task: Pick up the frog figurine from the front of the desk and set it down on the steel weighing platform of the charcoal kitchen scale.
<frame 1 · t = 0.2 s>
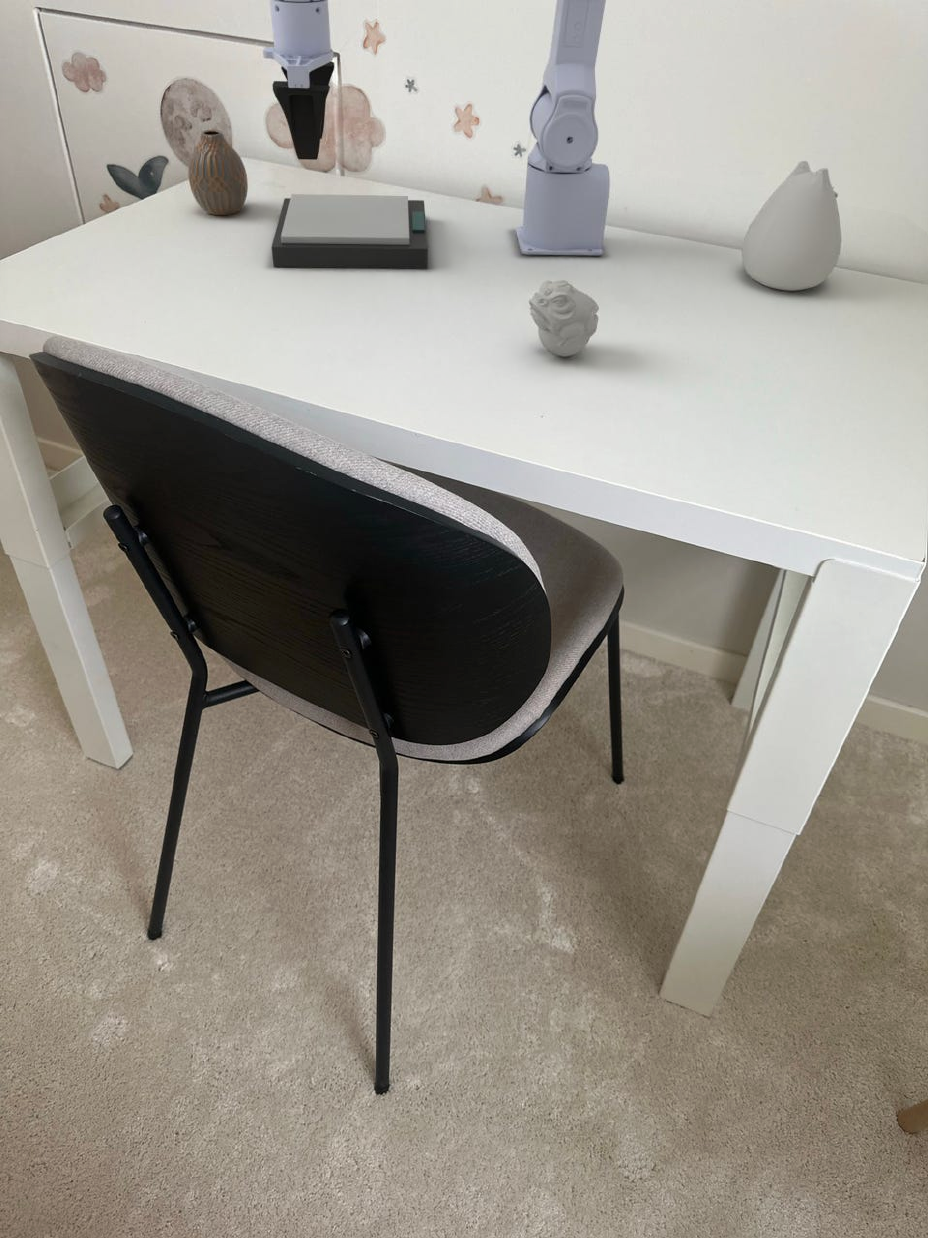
hand: (310, 147, 97), 10 cm above the table, tool pointing down, fingers open, 7 cm apart
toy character: (782, 281, 101), on the table
vase: (223, 211, 111), on the table
scale: (353, 241, 105), on the table
frog figurine: (559, 355, 85), on the table
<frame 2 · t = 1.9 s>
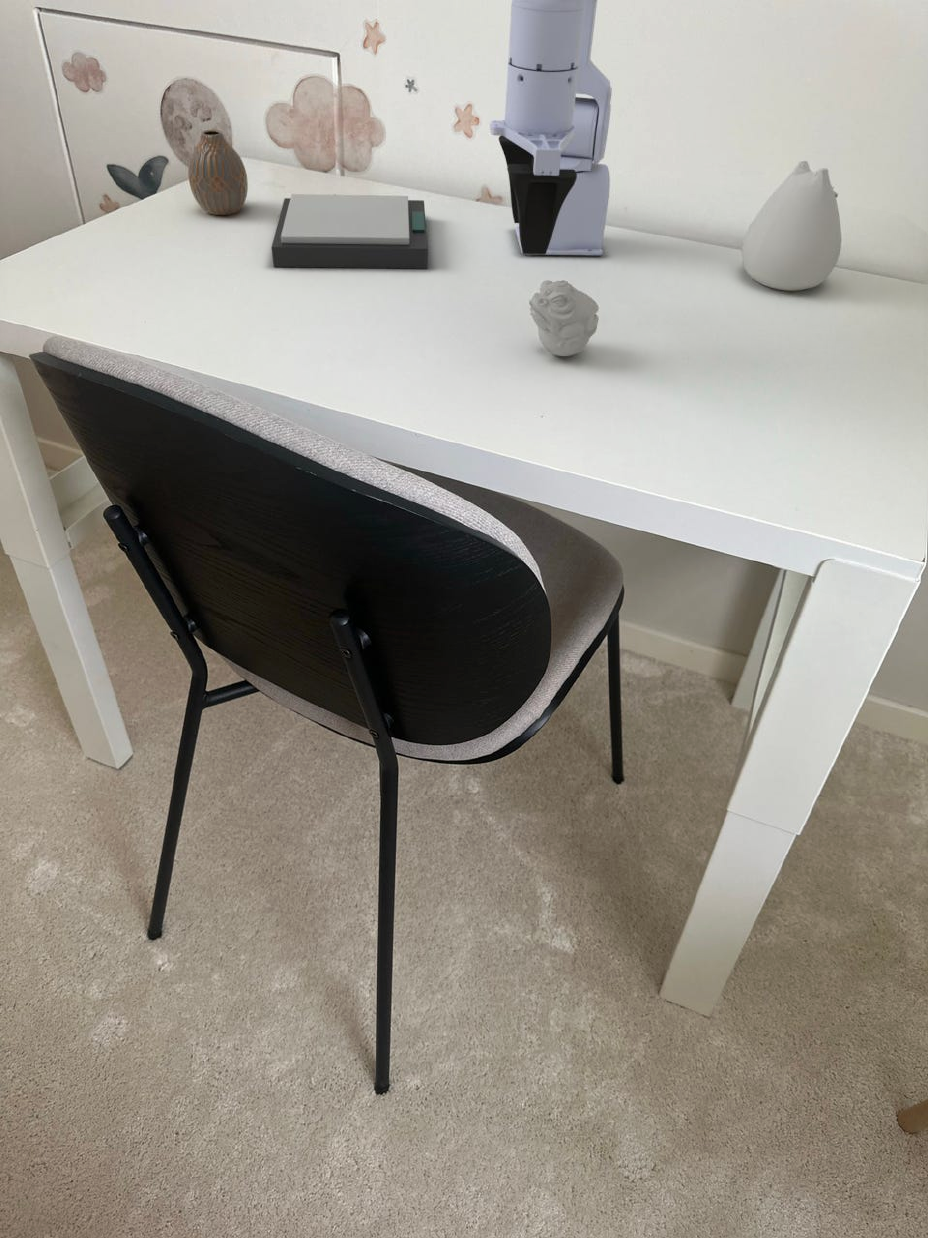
hand: (529, 236, 81), 10 cm above the table, tool pointing down, fingers open, 7 cm apart
nothing on the table moved.
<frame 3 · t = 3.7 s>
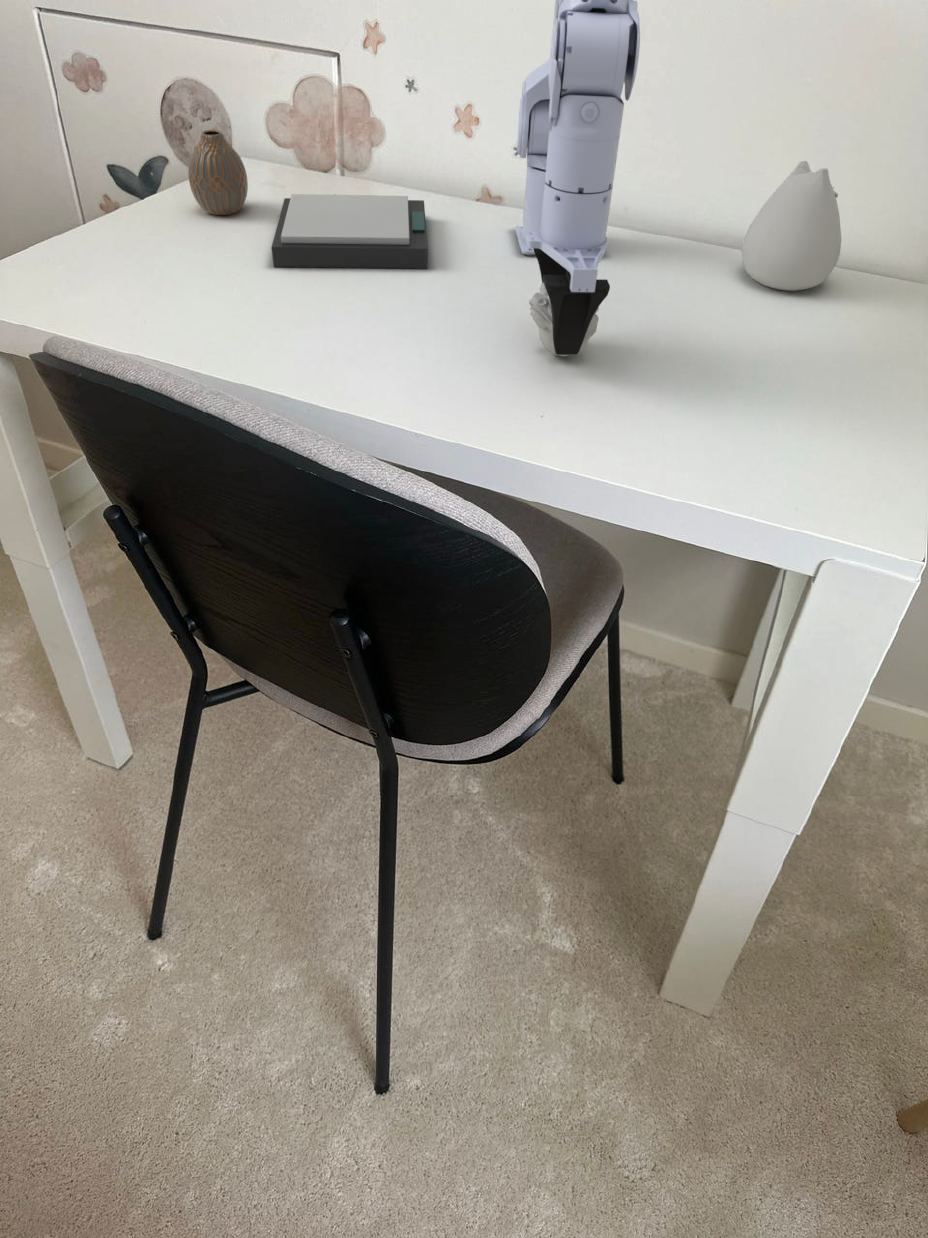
hand: (561, 336, 84), 2 cm above the table, tool pointing down, fingers closed on frog figurine, 6 cm apart
frog figurine: (559, 355, 85), on the table, touching gripper
everything else where it was.
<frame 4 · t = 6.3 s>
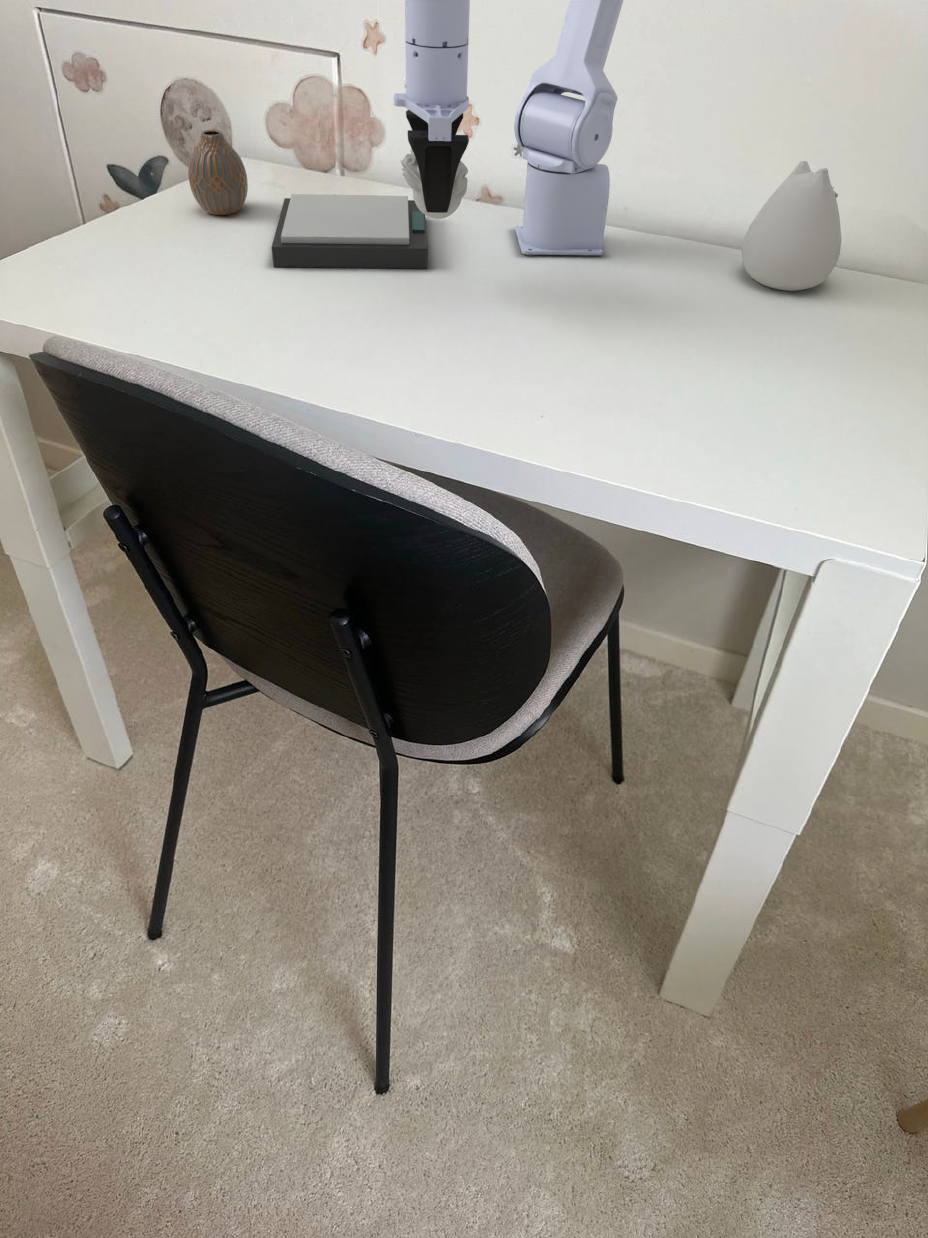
hand: (435, 199, 90), 9 cm above the table, tool pointing down, fingers closed on frog figurine, 6 cm apart
frog figurine: (434, 219, 91), point 7 cm above the table, touching gripper
everything else where it was.
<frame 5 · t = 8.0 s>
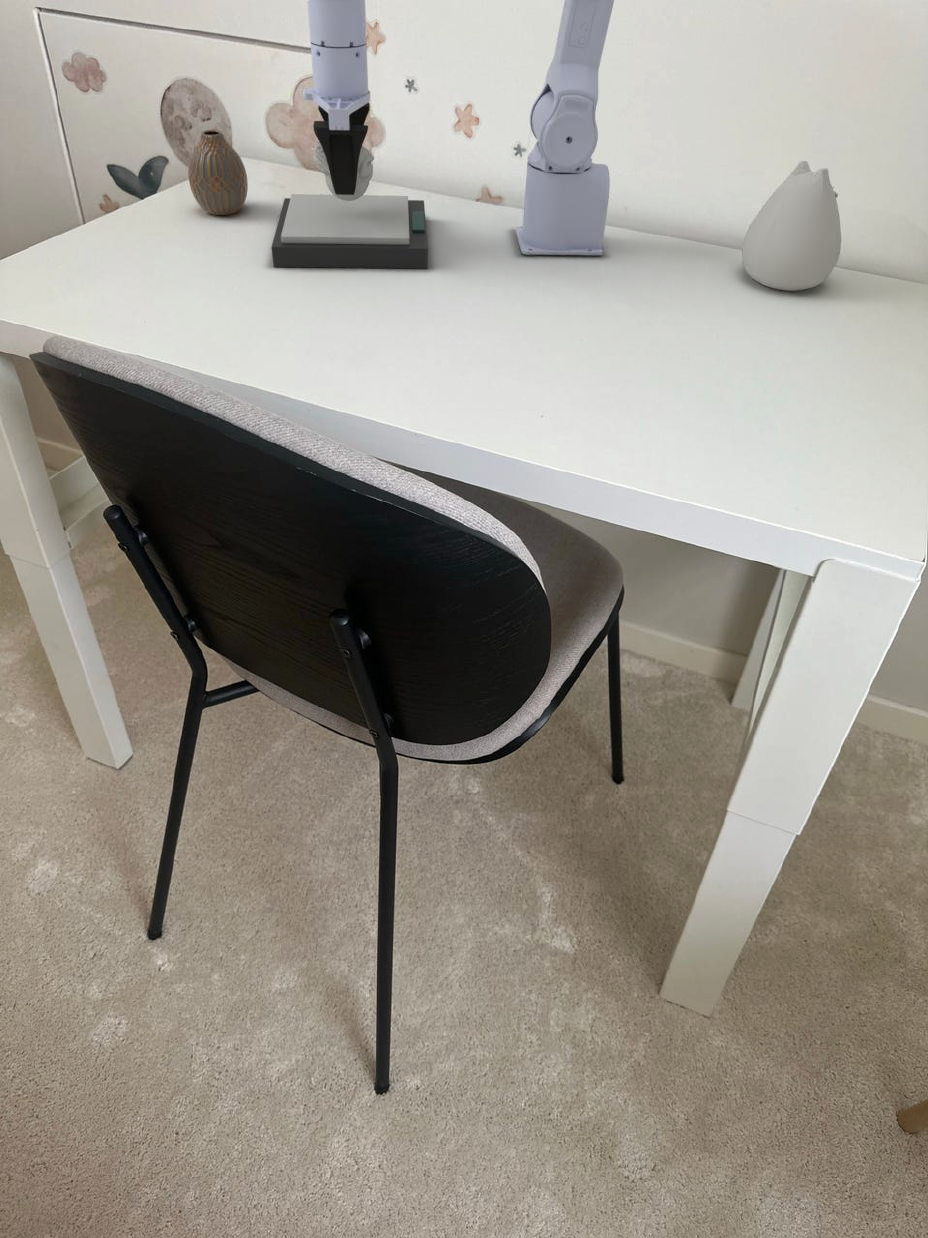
hand: (346, 183, 100), 6 cm above the table, tool pointing down, fingers closed on frog figurine, 6 cm apart
frog figurine: (346, 201, 101), point 4 cm above the table, touching gripper
everything else where it was.
when the fingers open (5 cm above the table, at t = 9.2 s): frog figurine stays where it is, resting on scale.
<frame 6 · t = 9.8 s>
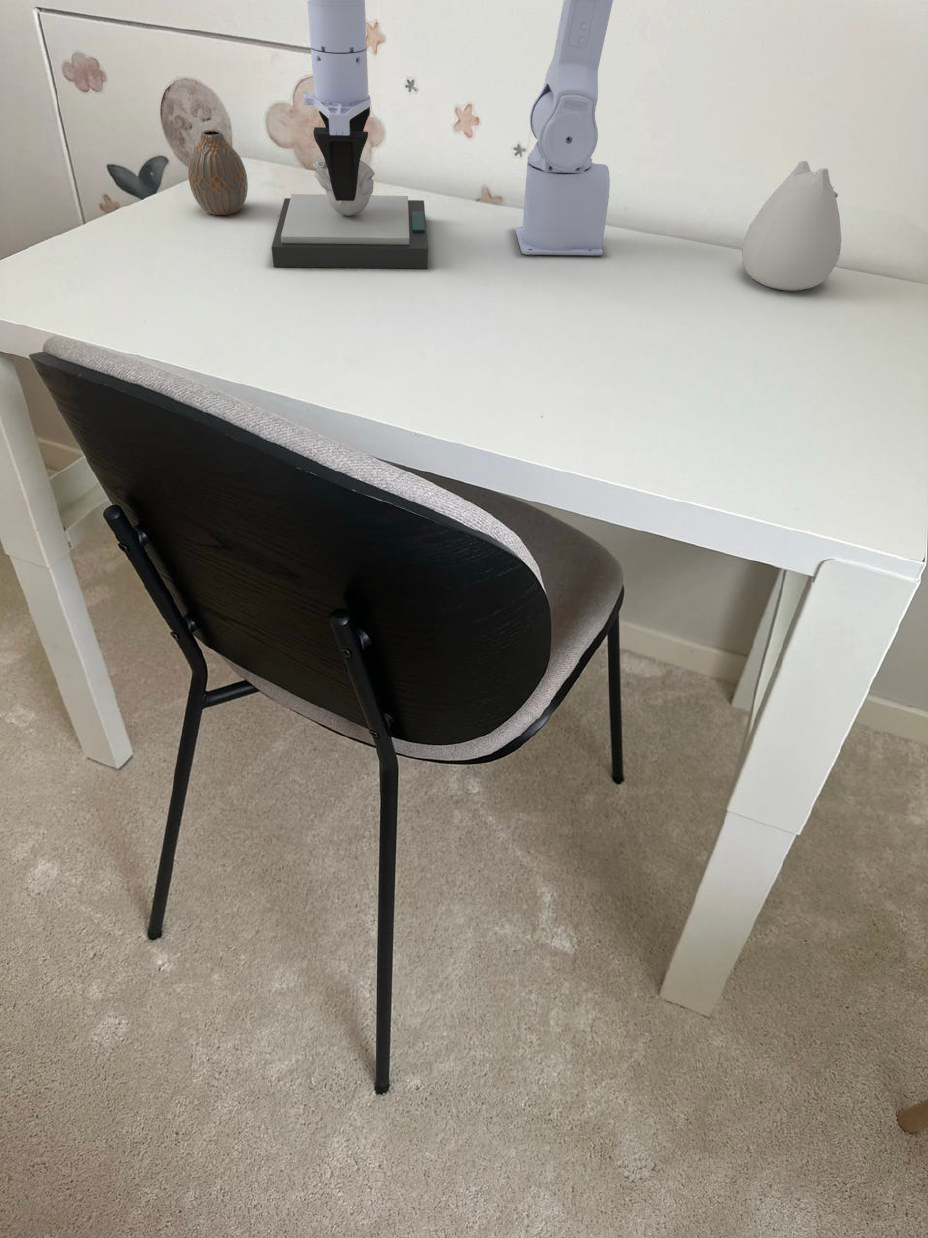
hand: (346, 188, 101), 6 cm above the table, tool pointing down, fingers open, 7 cm apart
frog figurine: (347, 216, 103), point 3 cm above the table, touching scale
everything else where it was.
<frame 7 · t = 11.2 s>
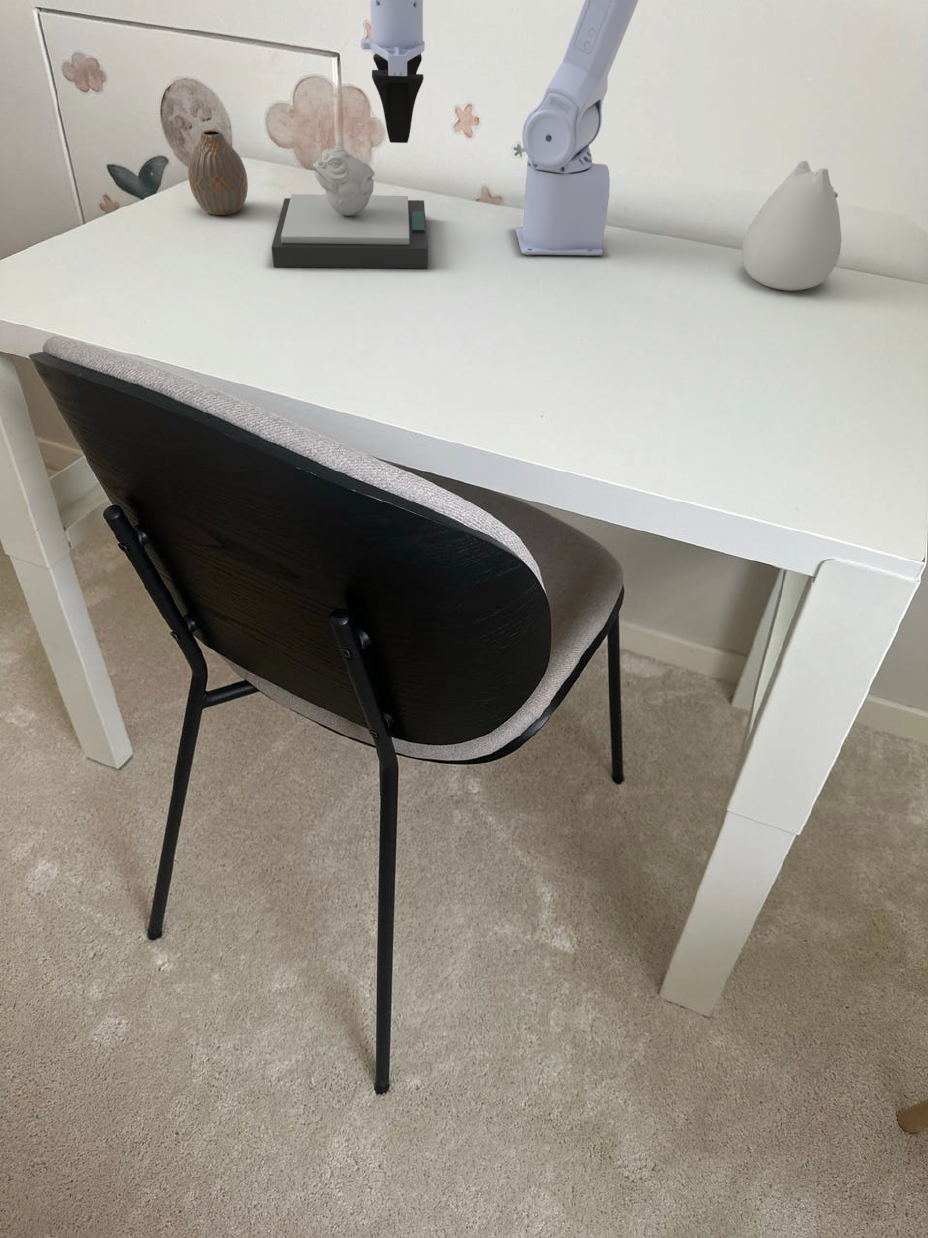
hand: (398, 132, 105), 9 cm above the table, tool pointing down, fingers open, 7 cm apart
nothing on the table moved.
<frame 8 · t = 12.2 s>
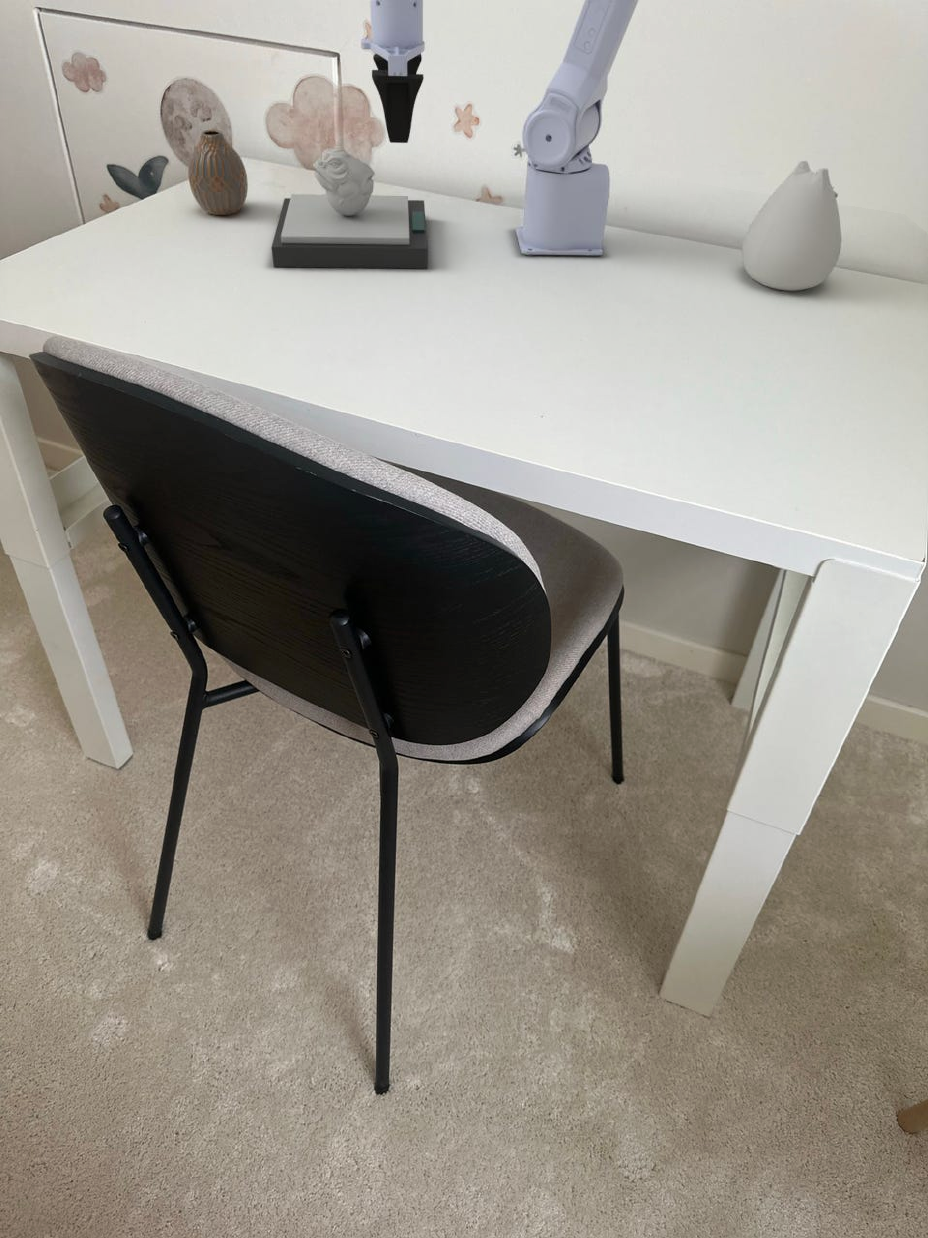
hand: (398, 132, 105), 9 cm above the table, tool pointing down, fingers open, 7 cm apart
nothing on the table moved.
at the end: frog figurine inside the target area on the scale (0.1 cm from its centre), point 2.8 cm above the scale's base; frog figurine tilted 0°; the gripper is holding nothing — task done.
